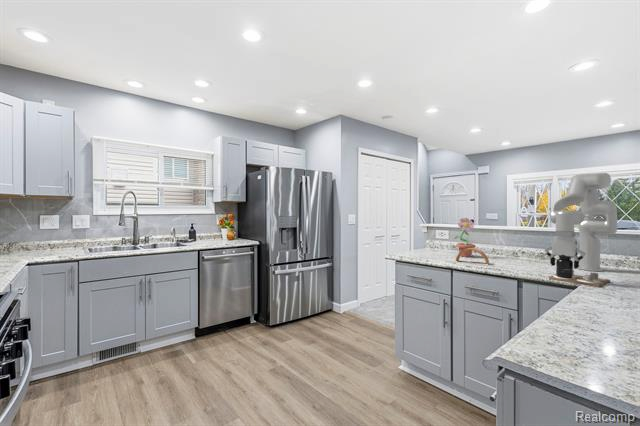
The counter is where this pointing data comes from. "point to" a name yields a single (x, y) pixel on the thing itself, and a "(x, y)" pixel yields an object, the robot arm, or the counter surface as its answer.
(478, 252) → the arch
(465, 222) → the decorative flower
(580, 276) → the board
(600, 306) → the counter surface
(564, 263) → the supplement bottle
